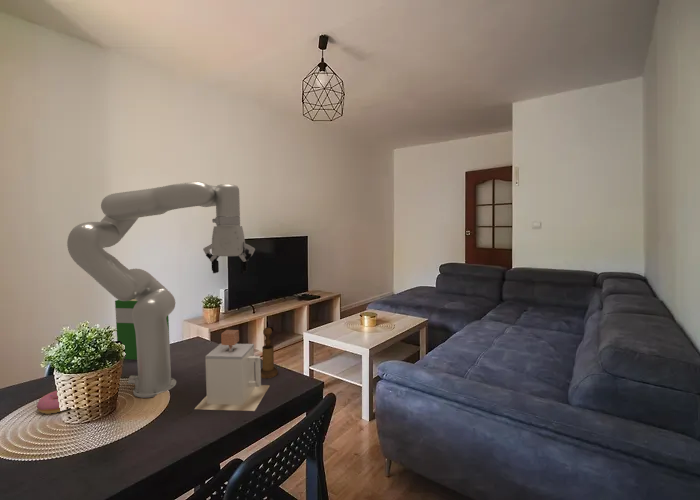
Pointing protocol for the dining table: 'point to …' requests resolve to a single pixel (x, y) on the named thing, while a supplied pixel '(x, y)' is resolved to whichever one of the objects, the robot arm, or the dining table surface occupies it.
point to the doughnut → (49, 403)
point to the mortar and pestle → (268, 356)
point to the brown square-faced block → (230, 338)
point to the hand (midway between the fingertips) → (229, 272)
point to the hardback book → (127, 326)
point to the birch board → (247, 406)
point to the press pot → (231, 374)
